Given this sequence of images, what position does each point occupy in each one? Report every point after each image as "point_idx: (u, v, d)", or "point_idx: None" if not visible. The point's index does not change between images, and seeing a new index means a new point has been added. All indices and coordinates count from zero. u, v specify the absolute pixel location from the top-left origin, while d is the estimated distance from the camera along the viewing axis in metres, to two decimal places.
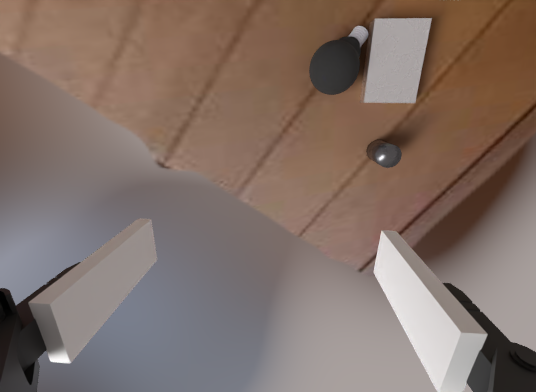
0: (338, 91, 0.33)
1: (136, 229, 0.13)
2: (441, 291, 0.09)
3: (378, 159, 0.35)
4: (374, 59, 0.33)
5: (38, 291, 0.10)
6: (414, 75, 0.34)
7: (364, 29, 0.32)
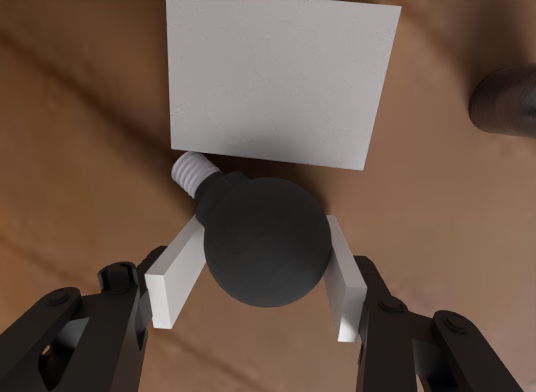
0: (328, 239, 0.11)
1: None
2: (347, 259, 0.11)
3: None
4: (259, 146, 0.13)
5: (138, 268, 0.11)
6: (313, 22, 0.11)
7: (176, 167, 0.13)
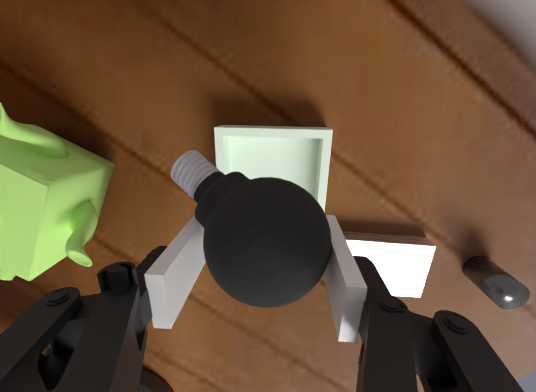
0: (327, 239, 0.11)
1: None
2: (347, 259, 0.11)
3: (512, 307, 0.26)
4: None
5: (138, 268, 0.11)
6: (401, 250, 0.28)
7: (175, 167, 0.13)
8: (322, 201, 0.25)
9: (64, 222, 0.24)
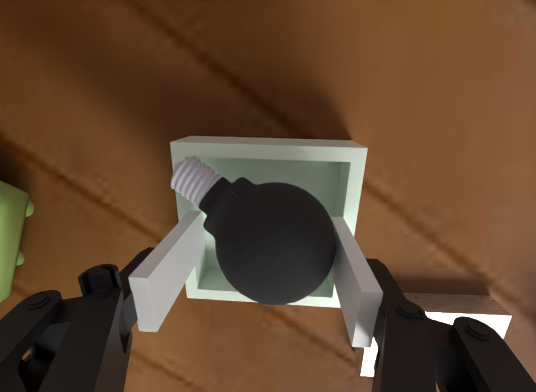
0: (335, 241, 0.12)
1: (192, 219, 0.14)
2: (360, 262, 0.11)
3: None
4: None
5: (124, 270, 0.11)
6: None
7: (176, 178, 0.13)
8: None
9: None
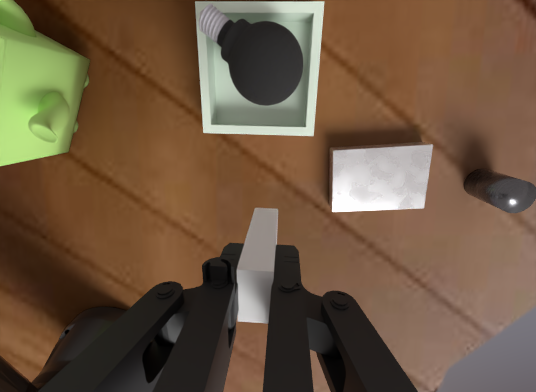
0: (302, 57, 0.21)
1: (262, 216, 0.15)
2: (268, 247, 0.12)
3: (517, 211, 0.24)
4: (374, 204, 0.28)
5: None
6: (396, 154, 0.26)
7: (203, 15, 0.20)
8: (313, 92, 0.23)
9: (30, 107, 0.22)
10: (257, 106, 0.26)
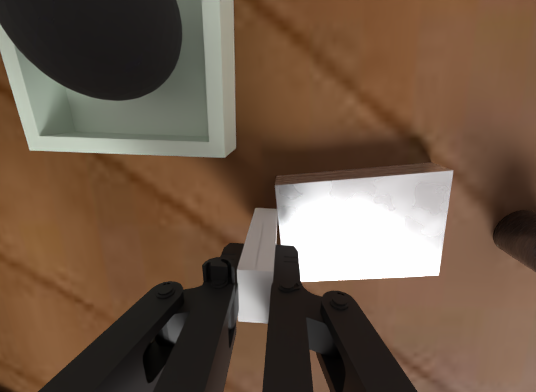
0: None
1: (262, 216, 0.15)
2: (268, 247, 0.12)
3: None
4: (353, 271, 0.16)
5: None
6: (387, 189, 0.14)
7: None
8: (215, 75, 0.12)
9: None
10: (138, 103, 0.15)
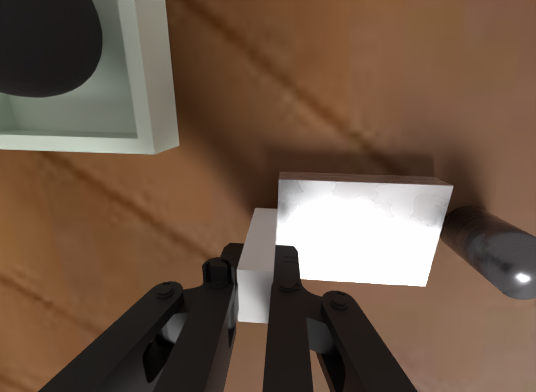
0: None
1: (262, 216, 0.15)
2: (268, 247, 0.12)
3: (531, 296, 0.13)
4: (344, 273, 0.17)
5: None
6: (388, 197, 0.15)
7: None
8: (137, 71, 0.12)
9: None
10: (76, 100, 0.15)
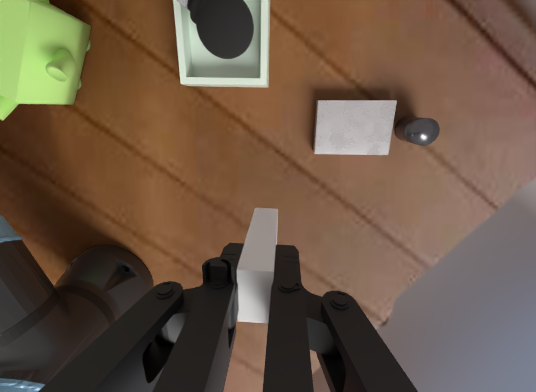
0: (251, 18, 0.27)
1: (262, 216, 0.15)
2: (268, 247, 0.12)
3: (426, 143, 0.31)
4: (348, 149, 0.34)
5: None
6: (368, 107, 0.32)
7: None
8: (264, 49, 0.30)
9: (46, 58, 0.28)
10: (224, 64, 0.33)
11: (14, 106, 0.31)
